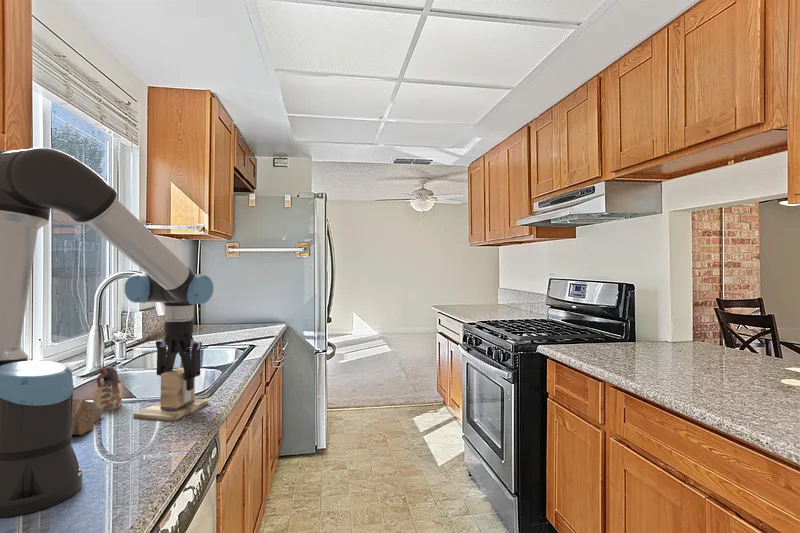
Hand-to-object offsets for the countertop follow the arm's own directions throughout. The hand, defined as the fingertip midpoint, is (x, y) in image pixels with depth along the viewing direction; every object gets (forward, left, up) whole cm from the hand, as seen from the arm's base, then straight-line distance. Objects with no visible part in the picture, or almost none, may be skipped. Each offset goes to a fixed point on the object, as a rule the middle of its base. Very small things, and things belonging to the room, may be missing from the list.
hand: (178, 400), depth 131 cm
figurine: (-2, +22, -3) cm, 22 cm away
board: (0, +2, -3) cm, 3 cm away
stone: (-18, +16, -3) cm, 24 cm away
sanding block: (0, 0, -2) cm, 2 cm away
